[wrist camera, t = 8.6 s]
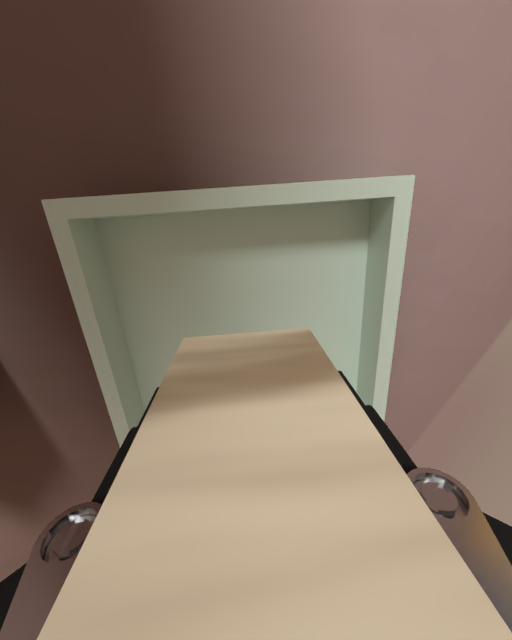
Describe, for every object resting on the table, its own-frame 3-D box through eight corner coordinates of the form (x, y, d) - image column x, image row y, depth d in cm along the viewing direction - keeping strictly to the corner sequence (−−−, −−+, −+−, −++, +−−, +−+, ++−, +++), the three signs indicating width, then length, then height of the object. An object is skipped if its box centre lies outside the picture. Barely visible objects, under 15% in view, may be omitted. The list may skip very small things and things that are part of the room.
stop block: (183, 337, 11) (-37, 791, 2) (308, 327, 11) (562, 709, 2) (200, 437, 12) (117, 905, 4) (308, 426, 12) (453, 854, 4)
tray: (81, 204, 14) (40, 199, 11) (380, 183, 14) (415, 174, 11) (145, 440, 19) (129, 478, 16) (360, 419, 20) (380, 452, 17)
